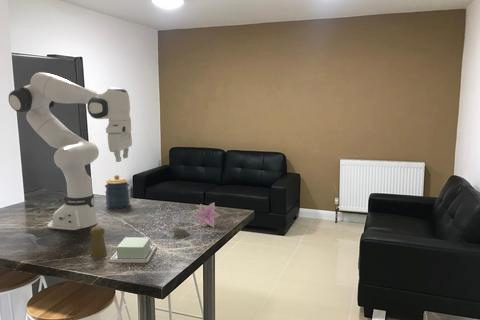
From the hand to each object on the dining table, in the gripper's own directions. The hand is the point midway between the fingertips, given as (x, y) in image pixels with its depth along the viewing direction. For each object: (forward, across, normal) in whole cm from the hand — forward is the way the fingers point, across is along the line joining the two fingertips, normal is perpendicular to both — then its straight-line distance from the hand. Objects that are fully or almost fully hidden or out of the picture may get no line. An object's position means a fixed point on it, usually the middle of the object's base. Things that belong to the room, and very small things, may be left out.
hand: (122, 159), depth 164 cm
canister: (+34, -49, -19) cm, 62 cm away
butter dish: (+34, +19, +8) cm, 40 cm away
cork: (+35, +19, -6) cm, 40 cm away
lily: (+35, -17, +33) cm, 51 cm away
